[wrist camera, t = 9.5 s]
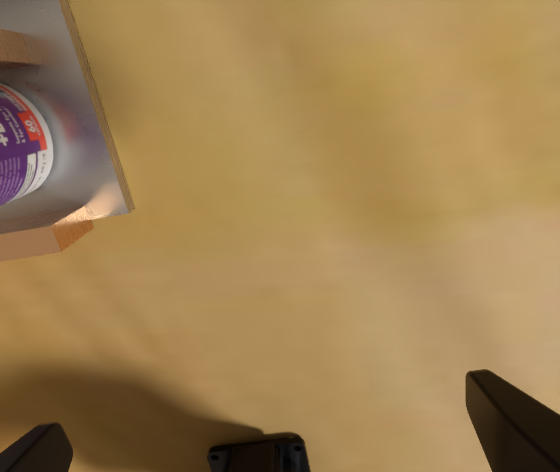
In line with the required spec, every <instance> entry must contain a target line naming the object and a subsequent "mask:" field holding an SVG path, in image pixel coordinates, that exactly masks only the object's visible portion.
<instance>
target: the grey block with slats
mask: <svg viewBox="0 0 560 472" xmlns="http://www.w3.org/2000/svg"><path fill="white" fill-rule="evenodd" d="M0 83H2V84H4V85H6V86H9V87H11V88H12V89H14V90H16V91H17V92H19V93H20V94H22V95H23V96H24V97H25V98H27V99H28V100H29V101H30V102H31V103H32V104H33V105H34V106H35V108H36V109H37V110H38V111H39V113H40V114H41V115H42V117H43V119H44V120H45V122H46V124H47V126H48V129H49V131H50V135H51V138H52V143H53V163H52V167H51V170H50V172H49V175H48V176H47V178H46V180H45V181H44V182H43V183H42V184H41V185H40V186H39V187H38V188H37V189H36V190H34V191H33V192H31V193H29V194H27V195H25V196H23V197H21V198H18V199H16V200H14V201H11V202H9V203H6V204H4V205H1V206H0V261H6V260H13V259H19V258H25V257H31V256H37V255H44V254H50V253H56V252H62V251H63V250H64V249H66V248H67V247H68V246H70V245H71V244H72V243H74V242H75V241H77V240H78V239H79V238H81V237H82V236H83V235H85V234H86V233H87V232H89V231H90V230H92V229H93V228H94V227H93V225H92V222H91V219H97V218H103V217H109V216H115V215H121V214H127V213H130V212H131V211H132V210H133V209H135V208H134V205H133V202H132V199H131V195H130V192H129V189H128V186H127V183H126V180H125V177H124V174H123V171H122V168H121V165H120V161H119V158H118V155H117V152H116V149H115V146H114V143H113V140H112V137H111V134H110V131H109V127H108V124H107V121H106V118H105V115H104V112H103V109H102V106H101V103H100V100H99V97H98V93H97V90H96V87H95V84H94V81H93V78H92V75H91V72H90V69H89V66H88V62H87V59H86V56H85V53H84V50H83V47H82V44H81V41H80V38H79V35H78V32H77V28H76V25H75V22H74V19H73V16H72V13H71V10H70V7H69V4H68V1H67V0H0Z"/></svg>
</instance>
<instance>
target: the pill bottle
mask: <svg viewBox="0 0 560 472" xmlns="http://www.w3.org/2000/svg"><path fill="white" fill-rule="evenodd" d="M52 163H53V143H52V138H51V135H50V131H49V129H48V126H47V124H46V122H45V120H44V119H43V117H42V115H41V114H40V113H39V111H38V110H37V109H36V108H35V106H34V105H33V104H32V103H31V102H30V101H29V100H28V99H27V98H25V97H24V96H23V95H22V94H20V93H19V92H17V91H16V90H14V89H12V88H11V87H9V86H6V85H4V84H2V83H0V206H1V205H4V204H6V203H9V202H11V201H14V200H16V199H18V198H21V197H23V196H25V195H27V194H29V193H31V192H33V191H34V190H36V189H37V188H38V187H39V186H40V185H41V184H42V183H43V182H44V181H45V180H46V178H47V176H48V175H49V172H50V170H51V167H52Z"/></svg>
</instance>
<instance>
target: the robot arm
mask: <svg viewBox="0 0 560 472" xmlns="http://www.w3.org/2000/svg"><path fill="white" fill-rule="evenodd" d="M466 407H467V411H468V414H469V416H470V419H471V421H472V424H473V426H474V428H475V431H476V433H477V436H478V438H479V441H480V443H481V445H482V448H483V450H484V453H485V455H486V458H487V460H488V462H489V465H490V467H491V470H492V472H560V415H559V414H558V413H556V412H555V411H553V410H551V409H550V408H548V407H547V406H545V405H544V404H542V403H540V402H539V401H537V400H536V399H534V398H532V397H531V396H529V395H528V394H526V393H525V392H523V391H521V390H520V389H518V388H517V387H515V386H513V385H512V384H510V383H509V382H507V381H506V380H504V379H502V378H501V377H499V376H498V375H496V374H494V373H493V372H491V371H489V370H487V369H482V370H474V371H469V372H467V374H466ZM72 457H73V449H72V446H71V444H70V442H69V440H68V438H67V436H66V434H65V432H64V430H63V428H62V426H61V424H59V423H57V422H52V423H44V424H40V425H37V426H36V427H34V428H33V429H32V430H30V431H29V432H28V433H26V434H25V435H24V436H22V437H21V438H20V439H19V440H17V441H16V442H15V443H13V444H12V445H11V446H9V447H8V448H7V449H5V450H4V451H3V452H1V453H0V472H68V470H69V467H70V464H71V461H72ZM207 458H208V461H209V464H210V467H211V470H212V472H311V470H310V466H309V461H308V456H307V451H306V446H305V442H304V440H303V439H302V438H287V439H279V440H270V441H261V442H252V443H244V444H235V445H226V446H218V447H212V448H210V449H209V451H208V456H207Z"/></svg>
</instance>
